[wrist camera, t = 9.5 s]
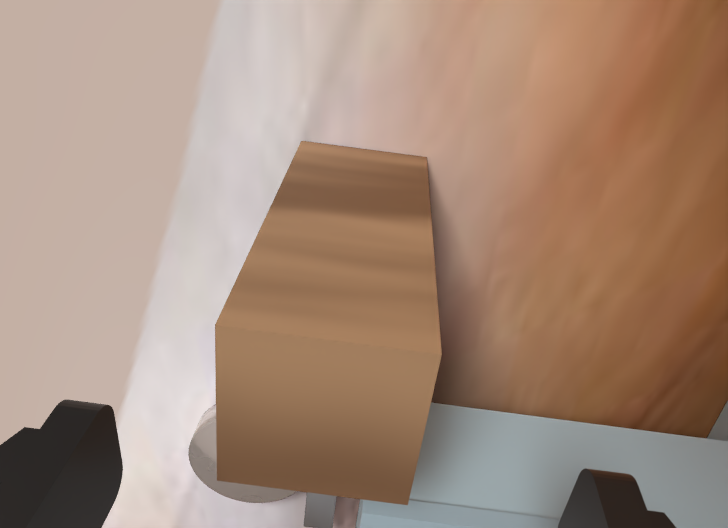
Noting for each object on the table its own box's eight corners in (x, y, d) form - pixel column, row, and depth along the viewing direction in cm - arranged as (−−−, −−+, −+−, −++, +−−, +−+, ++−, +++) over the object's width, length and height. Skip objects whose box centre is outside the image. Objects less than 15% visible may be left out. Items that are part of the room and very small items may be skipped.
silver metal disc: (197, 385, 25) (186, 409, 24) (317, 401, 25) (313, 425, 24) (199, 469, 28) (190, 494, 26) (309, 483, 28) (304, 509, 26)
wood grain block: (301, 140, 19) (215, 325, 11) (426, 157, 19) (442, 354, 11) (279, 483, 27) (219, 747, 19) (367, 494, 27) (349, 764, 19)
